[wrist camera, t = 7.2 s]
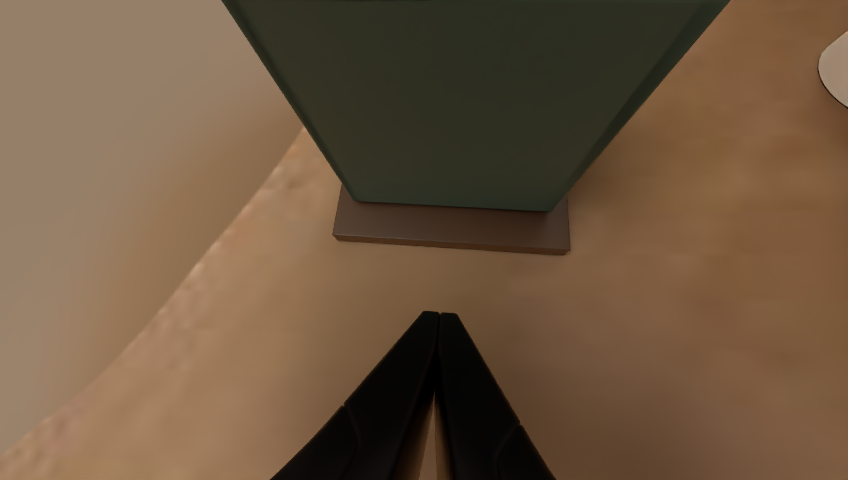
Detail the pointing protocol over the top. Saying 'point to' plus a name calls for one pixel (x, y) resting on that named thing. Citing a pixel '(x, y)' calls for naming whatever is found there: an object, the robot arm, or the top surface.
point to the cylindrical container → (836, 68)
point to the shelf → (468, 88)
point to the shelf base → (453, 226)
